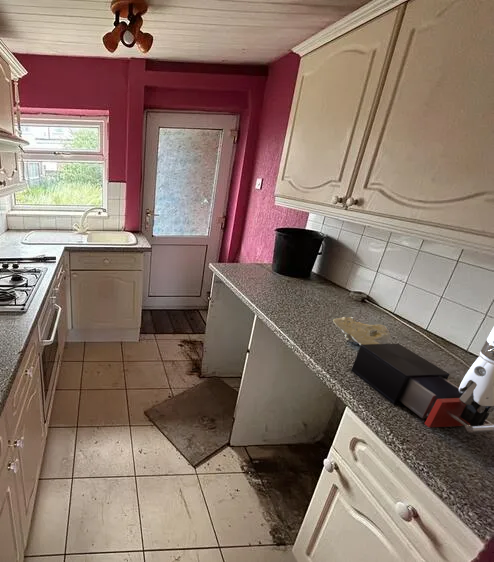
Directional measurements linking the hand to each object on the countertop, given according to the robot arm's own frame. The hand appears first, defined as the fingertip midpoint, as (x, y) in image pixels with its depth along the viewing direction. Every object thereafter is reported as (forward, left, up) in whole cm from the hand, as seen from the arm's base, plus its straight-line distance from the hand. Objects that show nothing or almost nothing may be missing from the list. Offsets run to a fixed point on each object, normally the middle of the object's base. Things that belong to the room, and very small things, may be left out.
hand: (470, 421), depth 72 cm
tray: (0, -6, -4) cm, 8 cm away
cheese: (-7, -40, -5) cm, 40 cm away
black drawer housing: (0, -19, -5) cm, 19 cm away
